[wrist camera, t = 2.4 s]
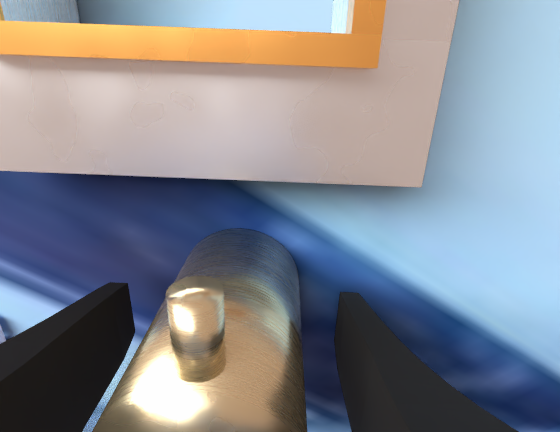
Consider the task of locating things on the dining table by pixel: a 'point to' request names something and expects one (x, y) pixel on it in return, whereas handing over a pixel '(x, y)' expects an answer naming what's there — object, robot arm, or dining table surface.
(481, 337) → the dining table surface
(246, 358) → the spout can
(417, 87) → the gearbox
